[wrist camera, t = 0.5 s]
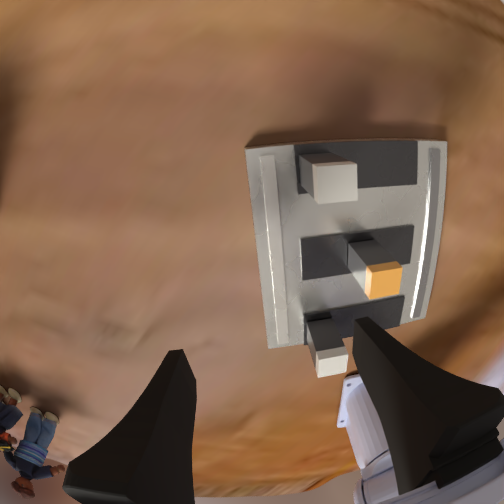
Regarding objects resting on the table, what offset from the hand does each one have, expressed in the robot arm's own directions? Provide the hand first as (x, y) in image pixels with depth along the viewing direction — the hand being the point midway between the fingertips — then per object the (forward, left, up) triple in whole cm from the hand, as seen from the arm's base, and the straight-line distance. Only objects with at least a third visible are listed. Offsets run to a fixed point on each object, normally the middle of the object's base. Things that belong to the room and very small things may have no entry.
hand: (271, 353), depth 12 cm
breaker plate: (-1, -7, -10) cm, 12 cm away
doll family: (-19, +37, -10) cm, 43 cm away
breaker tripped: (-1, -7, -8) cm, 11 cm away
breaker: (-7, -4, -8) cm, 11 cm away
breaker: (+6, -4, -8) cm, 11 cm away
